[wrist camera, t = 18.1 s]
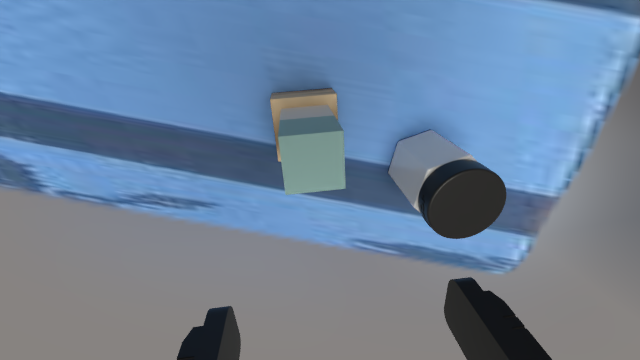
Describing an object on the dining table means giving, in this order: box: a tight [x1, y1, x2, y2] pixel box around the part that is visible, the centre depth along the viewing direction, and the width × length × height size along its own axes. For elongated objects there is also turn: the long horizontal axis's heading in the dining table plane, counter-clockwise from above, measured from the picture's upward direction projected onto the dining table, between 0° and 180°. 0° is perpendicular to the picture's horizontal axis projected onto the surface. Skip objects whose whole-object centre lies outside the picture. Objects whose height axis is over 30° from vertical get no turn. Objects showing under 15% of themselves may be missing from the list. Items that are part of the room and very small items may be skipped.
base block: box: [270, 88, 338, 162], centre depth 34 cm, size 7×7×4 cm
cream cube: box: [280, 104, 334, 120], centre depth 30 cm, size 5×5×5 cm
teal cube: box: [278, 115, 345, 195], centre depth 26 cm, size 5×5×5 cm
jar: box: [388, 130, 506, 239], centre depth 35 cm, size 9×8×12 cm
